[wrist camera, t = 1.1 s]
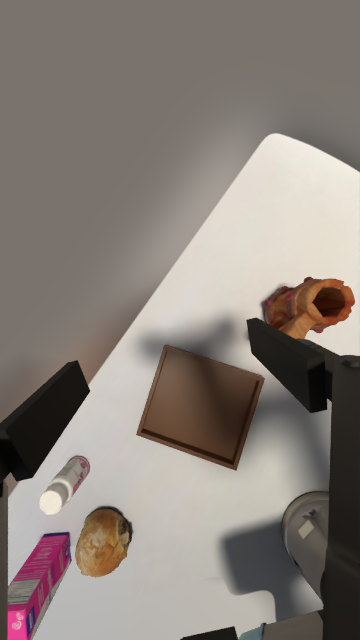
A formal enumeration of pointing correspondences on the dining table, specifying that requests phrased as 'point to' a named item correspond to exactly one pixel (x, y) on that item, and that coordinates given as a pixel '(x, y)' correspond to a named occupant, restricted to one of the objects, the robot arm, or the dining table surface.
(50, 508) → the pill bottle
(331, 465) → the robot arm
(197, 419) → the tray
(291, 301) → the mug
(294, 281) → the dining table surface
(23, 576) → the supplement box
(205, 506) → the dining table surface
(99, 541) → the bread roll
